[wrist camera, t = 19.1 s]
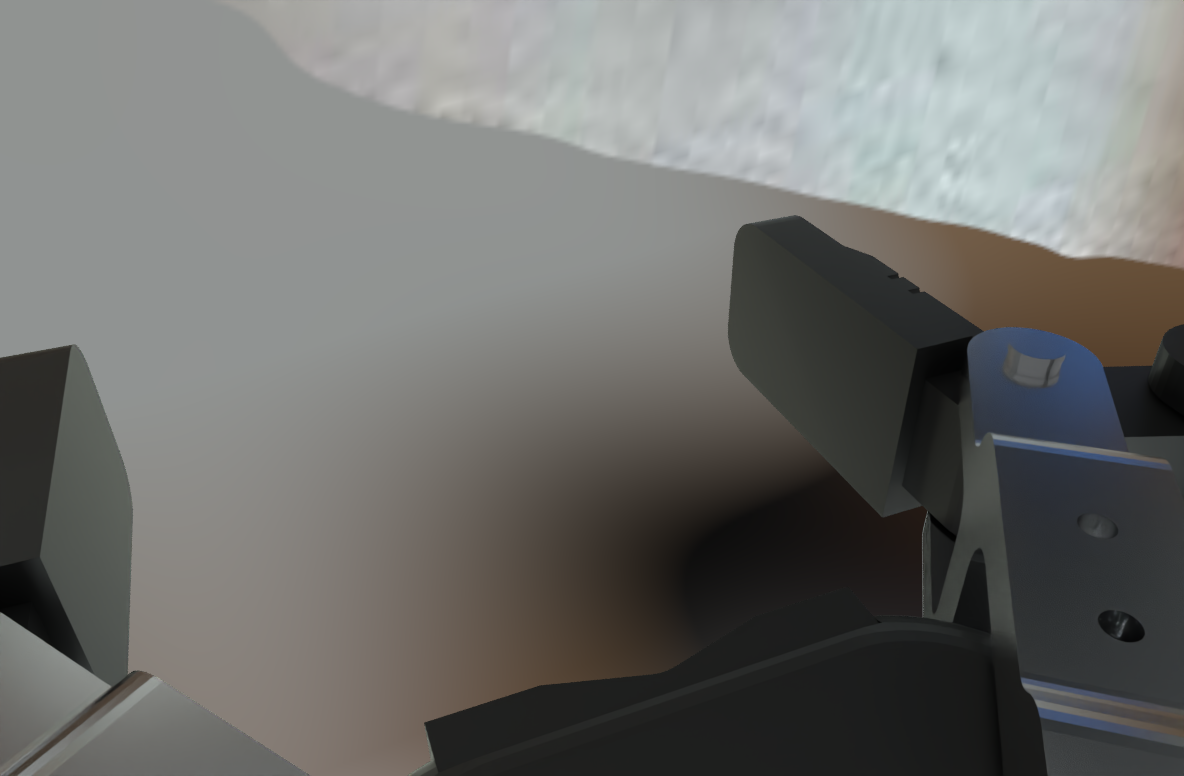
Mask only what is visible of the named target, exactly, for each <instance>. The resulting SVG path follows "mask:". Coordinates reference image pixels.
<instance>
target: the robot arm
mask: <svg viewBox="0 0 1184 776" xmlns="http://www.w3.org/2000/svg"><path fill="white" fill-rule="evenodd" d="M728 338H729V344H730V349H731V352H732V356H733V358H734V361H735V363H736V365H737V367H738V368H739V369H740V371H741V372H742V374H743V375H744V376H745V377H746V378H747V379H748V380H749V381H750V382H751V383H752V384H753V385H754V386H755V387H756V388H757V389H758V390H759V391H760V392H761V393H762V394H763V395H764V396H765V397H766V398H767V399H768V400H769V401H770V402H771V404H772V405H773V406H774V407H776V409H777V410H778V411H779V412H780V413H781V414H782V415H783V416H784V417H785V418H786V419H787V420H788V421H789V422H790V423H791V424H792V425H793V426H794V427H795V428H796V429H797V430H798V431H799V432H800V433H801V434H802V435H803V436H804V437H805V438H806V439H807V441H809V443H810V444H812V445H813V447H814V448H815V449H816V450H817V451H818V452H819V453H820V454H821V455H822V456H823V457H824V458H825V459H826V460H827V461H828V462H829V463H830V464H831V465H832V466H833V467H834V468H835V469H836V470H837V471H838V472H839V473H840V474H841V475H842V476H843V477H844V479H845V480H847V482H849V484H850V485H851V486H852V487H853V488H854V489H855V490H856V491H857V492H858V493H859V494H860V495H861V496H862V497H863V498H864V499H865V500H866V501H867V502H868V503H869V504H870V505H871V506H872V507H873V508H874V509H875V510H876V511H877V512H878V513H879V514H880V515H881V516H882V517H886V516H889V515H892V514H896V513H899V512H902V511H905V510H909V509H912V508H915V507H919V506H923V507H925V508H926V509H927V510H928V513H927V517H926V521H925V525H924V529H923V536H922V538H923V539H922V541H923V542H922V548H923V549H922V551H923V618H921V617H912V616H873V615H872V614H871V613H870V612H869V611H868V610H867V609H866V607H865V606H864V605H863V604H862V603H861V601H860V600H859V599H858V598H857V597H856V595H855V594H854V593H853V592H852V591H851V590H850V588H849V587H845V588H842V589H839V590H836V591H833V592H830V593H826V594H823V595H821V596H817V597H814V598H811V599H808V600H805V601H802V602H798V603H795V604H792V605H789V606H786V607H783V608H780V609H777V610H774V611H771V612H768V613H764V614H761V615H758V616H755V617H753V618H752V619H750V620H749V621H747V622H745V623H744V624H742V625H741V626H739V627H737V628H736V629H734V630H733V631H731V632H729V633H728V634H726V635H725V636H723V637H722V638H720V639H718V640H717V641H715V642H714V643H712V644H710V645H709V646H707V647H706V648H704V649H703V650H701V651H699V652H698V653H696V654H695V655H693V656H691V657H690V658H688V659H687V660H685V661H684V662H682V663H680V664H679V665H677V666H675V667H674V668H672V669H670V670H668V671H665V672H662V673H658V674H653V675H643V676H632V677H623V678H612V679H602V680H591V681H582V682H571V683H561V684H551V685H541V686H537V687H534V688H531V689H528V690H525V691H522V692H519V693H515V694H512V695H509V696H506V697H503V698H500V699H497V700H494V701H490V702H487V703H484V704H481V705H478V706H475V707H472V708H469V709H466V710H463V711H459V712H457V713H453V714H450V715H447V716H444V717H441V718H438V719H434V720H431V721H428V722H425V723H424V724H425V730H426V736H427V741H428V747H429V752H430V758H431V761H430V762H428V763H426V764H425V765H423V766H422V767H420V768H418V769H417V770H415V771H414V772H412V773H410V774H409V775H408V776H1184V325H1179V326H1176V327H1174V328H1172V329H1170V330H1169V331H1167V332H1166V333H1165V335H1164V336H1163V339H1162V341H1161V344H1160V347H1159V350H1158V352H1157V355H1156V357H1155V360H1154V363H1153V366H1129V367H1128V366H1127V367H1126V366H1124V367H1103V366H1102V364H1101V362H1100V361H1099V360H1098V358H1097V357H1096V356H1095V355H1094V354H1093V353H1092V352H1090V351H1089V350H1087V349H1086V348H1085V347H1083V346H1082V345H1080V344H1078V343H1076V342H1074V341H1072V340H1070V339H1067V338H1065V337H1062V336H1059V335H1056V334H1053V333H1050V332H1045V331H1041V330H1035V329H1028V328H1017V327H1016V328H1015V327H1013V328H1011V327H1009V328H1008V327H1006V328H996V329H992V330H987V331H985V332H984V331H982V330H981V329H979V328H978V327H977V326H975V325H974V324H972V323H971V322H969V321H968V320H966V319H965V318H963V317H962V316H960V315H959V314H957V313H956V312H954V311H953V310H951V309H950V308H948V307H947V306H945V305H944V304H942V303H941V302H940V301H938V300H937V299H935V298H934V297H932V296H931V295H929V294H928V293H926V292H920V291H919V287H917V286H916V285H914V284H913V283H911V282H910V281H908V280H907V279H906V278H904V277H902V278H899V276H898V273H897V272H895V271H894V270H892V269H891V268H889V267H888V266H886V265H885V264H883V263H882V262H880V261H879V260H877V259H876V258H875V257H873V256H871V255H868V254H865V253H862V252H859V251H857V250H854V249H851V248H848V247H845V246H843V245H841V244H840V243H838V242H837V241H835V240H834V239H833V238H831V237H830V236H828V235H827V234H825V233H824V232H822V231H821V230H820V229H818V228H816V227H815V226H814V225H812V224H811V223H809V222H808V221H806V220H805V219H804V218H802V217H800V216H796V215H794V216H788V217H783V218H778V219H772V220H766V221H761V222H755V223H750V224H746V225H743V226H742V227H741V228H740V229H739V231H738V233H737V235H736V239H735V244H734V257H733V269H732V283H731V296H730V309H729V322H728ZM132 519H133V509H132V499H131V492H130V487H129V482H128V478H127V473H126V469H125V466H124V463H123V460H122V457H121V454H120V451H119V449H118V446H117V443H116V440H115V438H114V435H113V432H112V430H111V427H110V424H109V422H108V419H107V416H106V413H105V411H104V408H103V405H102V403H101V400H100V397H99V395H98V392H97V389H96V386H95V384H94V381H93V378H92V376H91V373H90V370H89V367H88V365H87V362H86V360H85V358H84V356H83V354H82V352H81V350H80V349H79V348H78V347H77V346H76V345H69V346H63V347H58V348H52V349H47V350H41V351H36V352H30V353H24V354H19V355H13V356H8V357H2V358H0V776H310V775H309V774H307V773H306V772H304V771H302V770H301V769H299V768H298V767H296V766H295V765H293V764H292V763H290V762H289V761H287V760H285V759H284V758H282V757H281V756H279V755H278V754H276V753H274V752H273V751H271V750H270V749H268V748H267V747H265V746H264V745H262V744H261V743H259V742H257V741H256V740H254V739H253V738H251V737H250V736H248V735H246V734H245V733H243V732H242V731H240V730H239V729H237V728H236V727H234V726H232V725H231V724H229V723H228V722H226V721H225V720H223V719H222V718H220V717H219V716H217V715H215V714H214V713H212V712H211V711H209V710H207V709H206V708H205V707H203V706H201V705H200V704H198V703H197V702H195V701H193V700H192V699H190V698H189V697H187V696H186V695H184V694H183V693H181V692H179V691H178V690H176V689H175V688H173V687H172V686H170V685H169V684H167V683H166V682H164V681H162V680H161V679H159V678H157V677H156V676H154V675H151V674H149V673H147V672H143V671H133V672H131V673H130V674H127V673H128V645H129V644H128V643H129V612H130V582H131V551H132Z"/></svg>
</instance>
